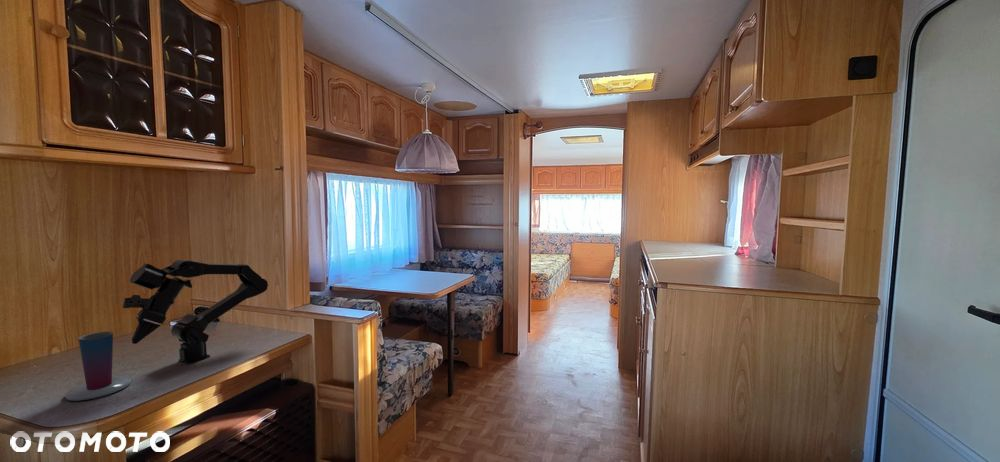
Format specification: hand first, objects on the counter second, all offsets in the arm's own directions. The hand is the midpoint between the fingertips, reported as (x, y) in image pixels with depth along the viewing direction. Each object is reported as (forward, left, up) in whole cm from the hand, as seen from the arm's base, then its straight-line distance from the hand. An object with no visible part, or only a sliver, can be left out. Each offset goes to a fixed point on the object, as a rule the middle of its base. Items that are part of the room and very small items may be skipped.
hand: (133, 342), depth 118 cm
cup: (+9, 0, -10) cm, 13 cm away
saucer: (+9, 0, -11) cm, 14 cm away
